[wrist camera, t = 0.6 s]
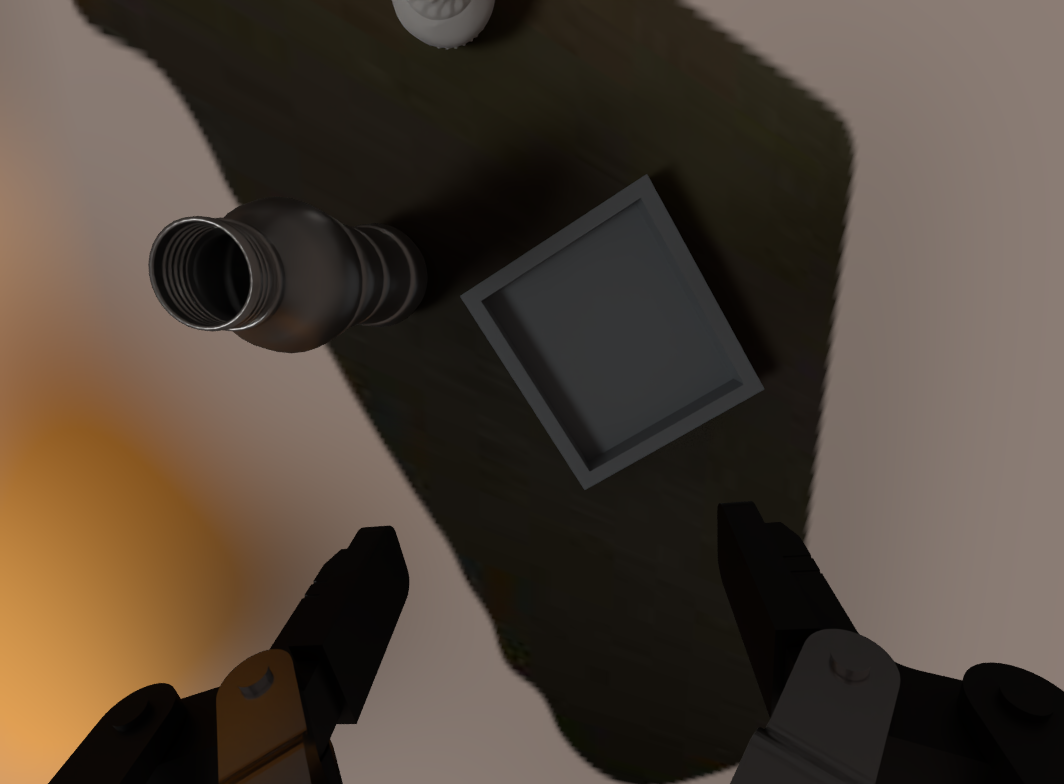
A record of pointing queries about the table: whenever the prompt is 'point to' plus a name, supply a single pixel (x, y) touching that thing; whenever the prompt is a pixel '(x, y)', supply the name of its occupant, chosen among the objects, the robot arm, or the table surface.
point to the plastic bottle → (285, 274)
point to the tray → (614, 335)
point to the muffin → (444, 20)
